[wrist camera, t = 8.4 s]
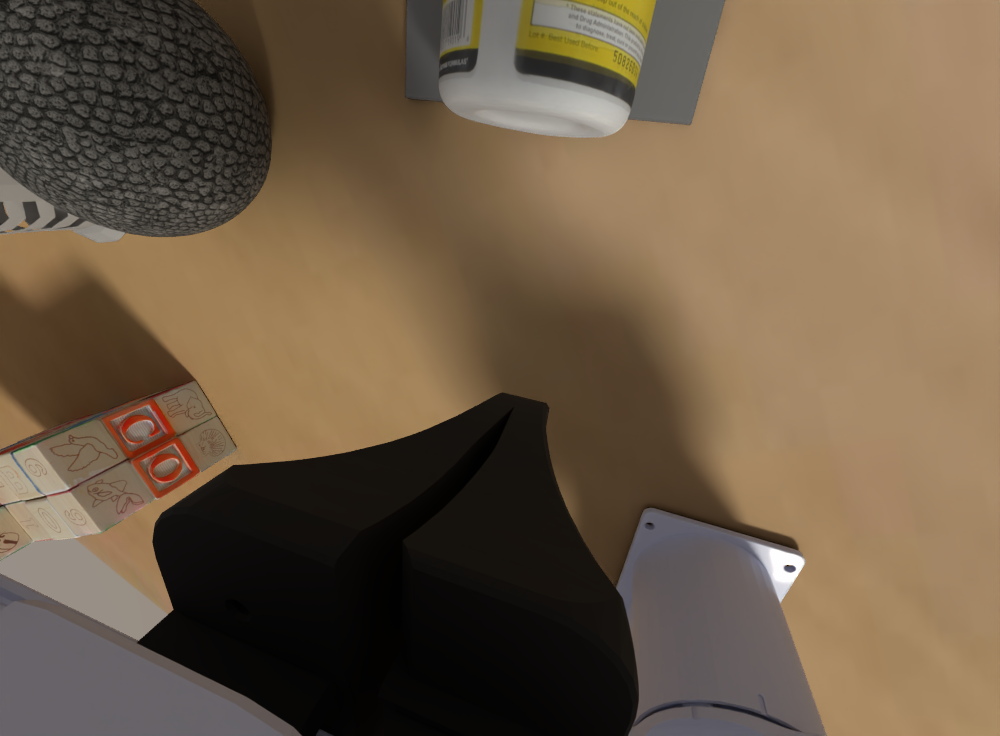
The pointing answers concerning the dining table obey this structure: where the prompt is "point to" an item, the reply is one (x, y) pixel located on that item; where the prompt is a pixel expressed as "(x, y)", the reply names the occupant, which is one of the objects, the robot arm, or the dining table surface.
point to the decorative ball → (130, 113)
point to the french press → (42, 214)
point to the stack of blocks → (106, 466)
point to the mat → (664, 71)
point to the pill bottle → (543, 63)
